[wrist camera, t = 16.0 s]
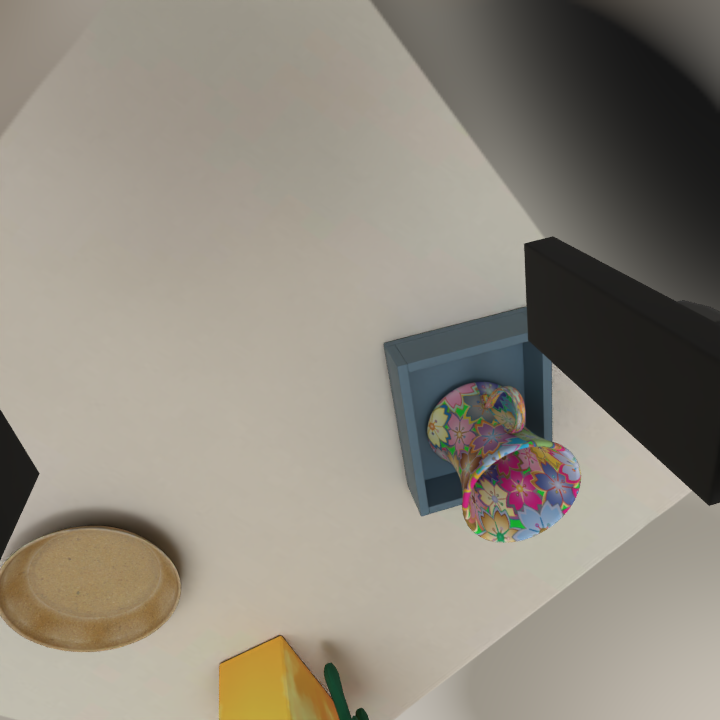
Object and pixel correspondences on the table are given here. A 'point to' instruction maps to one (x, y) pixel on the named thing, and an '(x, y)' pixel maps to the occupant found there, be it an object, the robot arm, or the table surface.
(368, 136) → the table surface
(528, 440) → the mug
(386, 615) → the table surface
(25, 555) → the plant saucer
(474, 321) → the tub
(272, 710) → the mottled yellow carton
